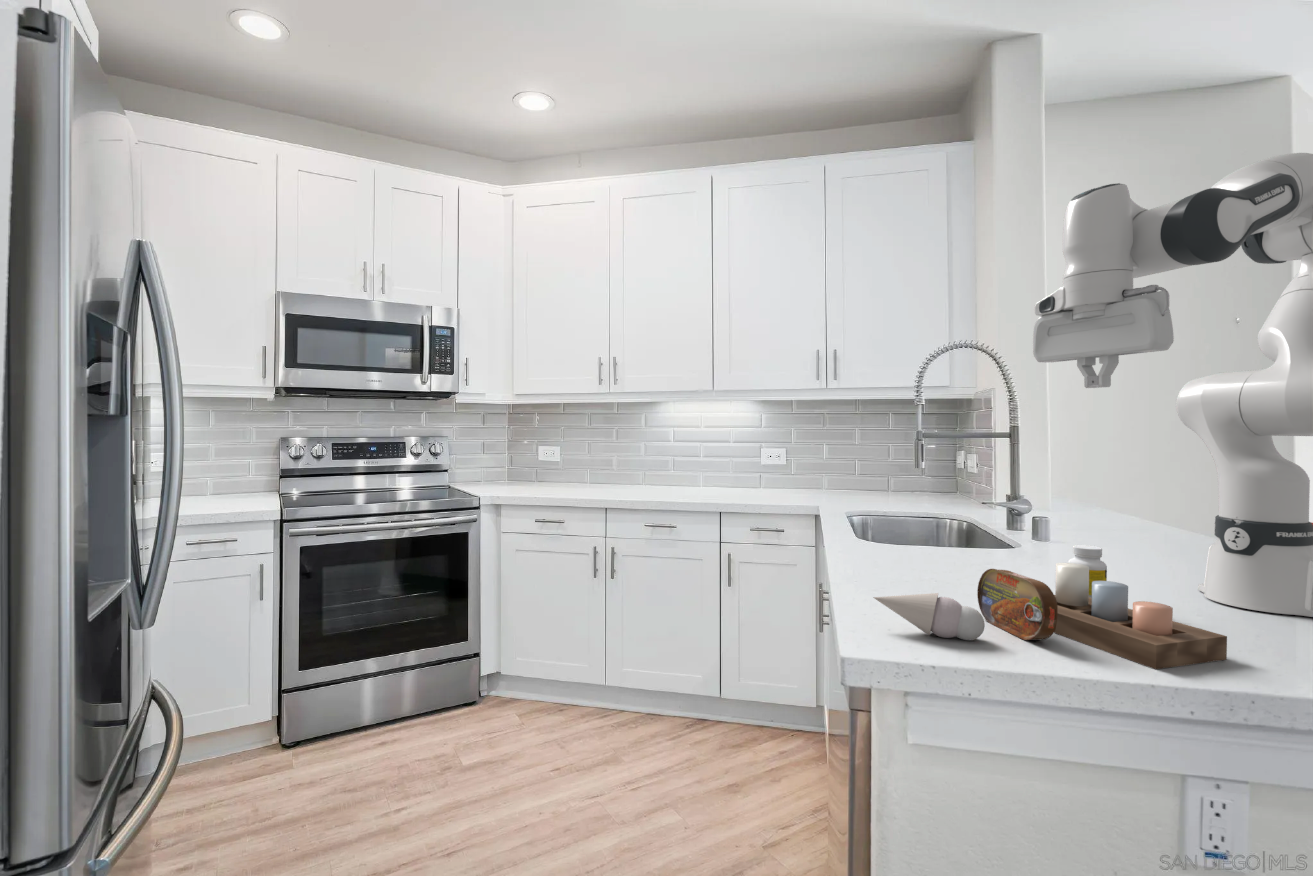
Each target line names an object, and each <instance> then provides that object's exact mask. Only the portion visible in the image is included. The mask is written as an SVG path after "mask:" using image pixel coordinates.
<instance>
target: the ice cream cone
mask: <svg viewBox="0 0 1313 876" xmlns="http://www.w3.org/2000/svg"><path fill="white" fill-rule="evenodd" d="M873 599H874V600H876V601H877V602H879V603H881V604H882V605H883V606H885V607H886V608H888V609H889V610H891V611H893V612H894V613H895V614H897V615H898V616H900V617H901V618H902V619H904V620H906V621H907V622H908V623H910V624H911V625H913V626H914V627H915V628H918V629H919V630H920V631H922V632H923V633H925V634H926V635H928V636H931V633H932V634H934V635H935V636H938V637H940V638H944V639H952V638H955V637H957V638H959V639H961V640H963V641H973V640H977V639H978V638H979V637H981V636H982V634H983V633H984V631H985V625H986V624H985V618H984V616H983V615H982V613H980V611H978V610H977V609H975V608H973V607H971V606H967V605H964V606H963V605H962V604H961V603H960V602H958V601H957V600H956V599H954V598H952V597H947V596H939V592H933V593H932V592H931V593H919V594H905V595H904V594H903V595H902V594H901V595H888V596H886V595H885V596H876V597H875V596H874V597H873Z"/></svg>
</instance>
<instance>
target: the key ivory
mask: <svg viewBox="0 0 1313 876" xmlns="http://www.w3.org/2000/svg"><path fill="white" fill-rule="evenodd" d="M1054 595H1055V598H1056V601H1057V602H1058V603H1061V604H1065V605H1071V606H1087V605H1089V567H1088V566H1086V565H1081V564H1075V563H1068V562H1057V563H1055V593H1054Z"/></svg>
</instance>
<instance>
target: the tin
mask: <svg viewBox="0 0 1313 876" xmlns="http://www.w3.org/2000/svg"><path fill="white" fill-rule="evenodd" d="M977 584H978V585H977V590H976V591H977V594H976V595H977V602H978V603H977V604H978V608H979V610H980V612H981V613H980V614H981V615H982V617H983V619H984V620H985V621H986V622H987V623H989V624H990V625H992V626H994V627H996V628H999V629H1000V630H1002V631H1004V632H1007V633H1009V634H1011V635H1012V636H1015V637H1017V638H1019V639H1020V640H1023V641H1042V640H1047V639H1049V638H1050V637H1052V635H1053V634H1055V633H1054V632H1055V629H1056V624H1057V617H1058V605H1057V601H1056V598H1055V596H1054V595H1055V593H1054V592H1053V590H1052V589H1051V588H1050V587H1049V586H1048V585H1047V584H1046V583H1045V582H1044V581H1041V580H1038V579H1035V578H1031V577H1028V576H1025V575H1022V574H1020V573H1018V572H1017V573H1016V572H1013V571H1011V570H1007V569H996V568H988V569H987V570H985V571H984V572H983V573H982V575H981V576H980V578H979V580H978V583H977Z"/></svg>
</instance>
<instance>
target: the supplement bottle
mask: <svg viewBox="0 0 1313 876" xmlns="http://www.w3.org/2000/svg"><path fill="white" fill-rule="evenodd" d="M1072 548H1073V549H1072V554H1073V556H1074V557H1072V558H1070V559H1069V560H1067V561H1068V562H1067V563H1075V564H1081V565H1086V566H1088V567H1089V597H1090V598H1092V582H1093V581H1108V578H1107V577H1108V569H1107V567H1108V566H1107V564H1106V562H1105V561H1102V560H1101V558H1102V557H1103V548H1102V547H1100V546H1095V545H1088V544H1077V545H1076V544H1075V545H1073V546H1072Z"/></svg>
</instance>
